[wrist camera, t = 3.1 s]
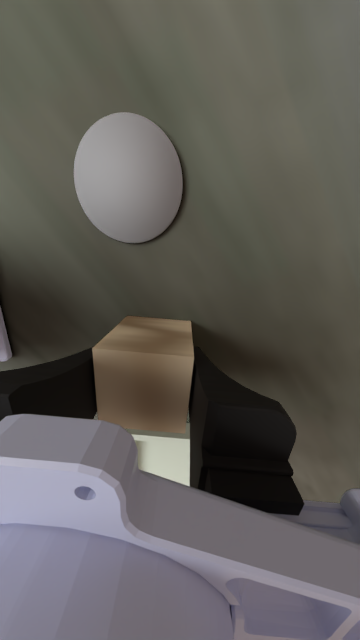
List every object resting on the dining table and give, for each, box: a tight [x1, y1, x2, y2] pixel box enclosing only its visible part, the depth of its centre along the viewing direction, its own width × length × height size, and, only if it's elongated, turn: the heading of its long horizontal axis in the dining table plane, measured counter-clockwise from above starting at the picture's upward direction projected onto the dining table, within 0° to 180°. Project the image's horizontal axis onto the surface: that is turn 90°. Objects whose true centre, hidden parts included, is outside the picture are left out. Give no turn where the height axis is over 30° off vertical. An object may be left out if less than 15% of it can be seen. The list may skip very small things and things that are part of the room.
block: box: [92, 316, 194, 434], centre depth 11 cm, size 4×4×5 cm
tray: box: [127, 423, 190, 486], centre depth 17 cm, size 12×12×2 cm
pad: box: [74, 113, 183, 243], centre depth 10 cm, size 6×6×1 cm
